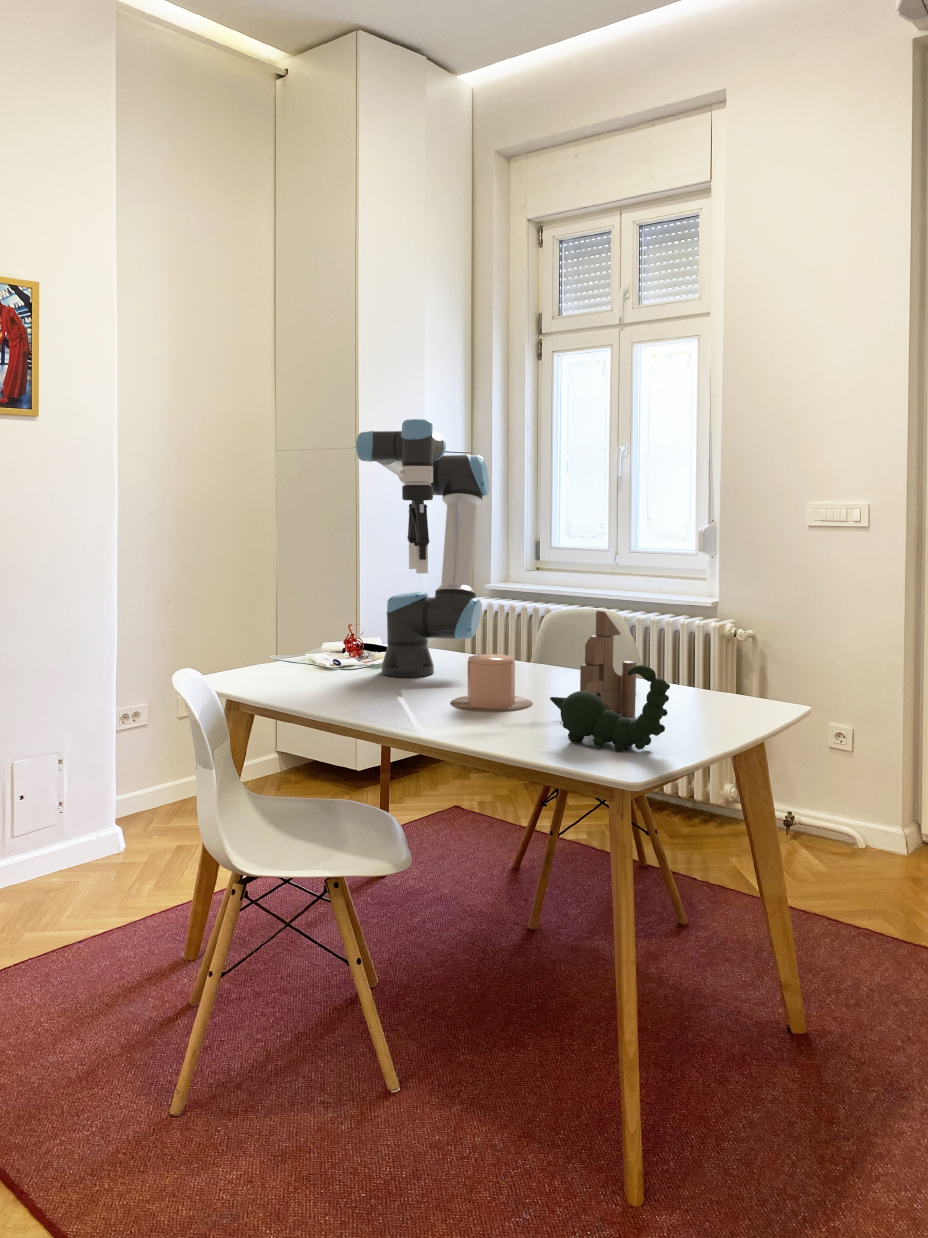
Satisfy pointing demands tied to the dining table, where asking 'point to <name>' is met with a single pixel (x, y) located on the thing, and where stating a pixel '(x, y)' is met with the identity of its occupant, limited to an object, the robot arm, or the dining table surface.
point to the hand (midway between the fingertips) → (418, 571)
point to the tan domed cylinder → (491, 681)
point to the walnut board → (464, 705)
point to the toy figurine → (614, 716)
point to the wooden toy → (607, 670)
